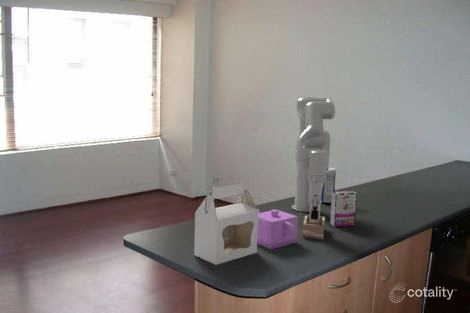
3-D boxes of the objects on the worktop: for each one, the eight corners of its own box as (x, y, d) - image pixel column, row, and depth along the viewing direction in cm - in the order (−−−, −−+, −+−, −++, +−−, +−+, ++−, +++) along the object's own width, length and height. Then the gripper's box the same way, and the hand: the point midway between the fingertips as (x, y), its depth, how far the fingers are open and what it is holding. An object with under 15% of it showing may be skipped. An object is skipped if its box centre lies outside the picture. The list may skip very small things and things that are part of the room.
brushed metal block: (309, 219, 235) (310, 200, 234) (319, 220, 234) (320, 201, 233) (309, 222, 231) (310, 202, 230) (319, 223, 230) (320, 203, 229)
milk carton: (333, 204, 287) (336, 169, 283) (321, 203, 287) (323, 168, 283) (331, 201, 294) (333, 166, 290) (319, 200, 294) (322, 166, 290)
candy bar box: (350, 223, 252) (352, 190, 249) (355, 226, 247) (357, 192, 244) (329, 224, 249) (331, 191, 246) (334, 227, 244) (336, 193, 241)
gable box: (235, 243, 216) (237, 178, 211) (257, 252, 207) (260, 184, 202) (193, 255, 201) (194, 185, 197) (215, 265, 192) (217, 192, 187)
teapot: (264, 230, 235) (265, 201, 233) (304, 246, 217) (306, 213, 214) (239, 236, 226) (240, 205, 224) (279, 253, 207) (280, 219, 205)
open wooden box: (304, 227, 242) (305, 215, 241) (324, 229, 240) (324, 216, 239) (302, 237, 227) (303, 224, 226) (323, 239, 226) (324, 226, 225)
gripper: (309, 174, 238) (307, 212, 241) (307, 181, 222) (305, 222, 225) (325, 175, 237) (323, 213, 240) (325, 182, 221) (322, 223, 224)
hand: (314, 217), depth 232 cm, fingers closed on brushed metal block, 4 cm apart
